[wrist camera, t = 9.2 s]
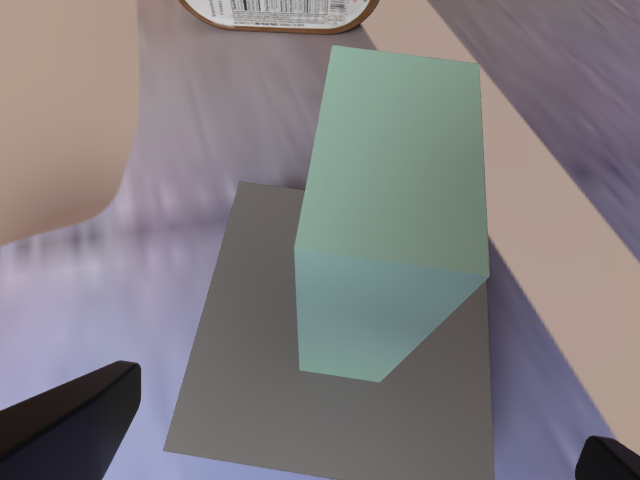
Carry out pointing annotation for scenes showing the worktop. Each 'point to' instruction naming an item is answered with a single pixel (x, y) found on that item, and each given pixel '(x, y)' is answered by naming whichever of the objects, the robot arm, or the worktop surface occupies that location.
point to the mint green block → (389, 210)
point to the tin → (282, 14)
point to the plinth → (323, 375)
